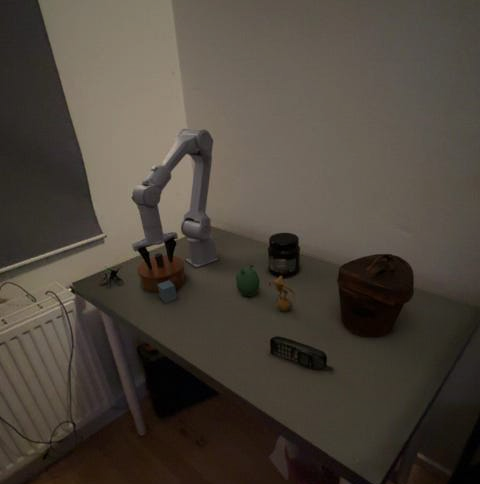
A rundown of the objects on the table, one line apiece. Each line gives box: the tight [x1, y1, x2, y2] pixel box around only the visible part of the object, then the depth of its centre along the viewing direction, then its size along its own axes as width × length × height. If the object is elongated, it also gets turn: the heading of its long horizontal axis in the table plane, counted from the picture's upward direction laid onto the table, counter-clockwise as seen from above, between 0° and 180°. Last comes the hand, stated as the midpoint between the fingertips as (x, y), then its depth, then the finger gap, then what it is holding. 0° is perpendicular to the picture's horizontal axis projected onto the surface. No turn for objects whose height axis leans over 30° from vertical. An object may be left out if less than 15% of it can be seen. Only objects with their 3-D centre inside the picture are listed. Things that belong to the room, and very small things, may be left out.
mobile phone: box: [269, 335, 334, 371], centre depth 80 cm, size 5×3×15 cm
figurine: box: [268, 276, 296, 312], centre depth 95 cm, size 8×6×12 cm
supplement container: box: [267, 232, 301, 278], centre depth 115 cm, size 10×10×12 cm
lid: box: [136, 252, 185, 279], centre depth 114 cm, size 15×15×5 cm
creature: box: [99, 266, 124, 287], centre depth 118 cm, size 8×5×8 cm
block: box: [157, 280, 178, 304], centre depth 107 cm, size 4×4×5 cm
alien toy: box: [235, 263, 261, 297], centre depth 105 cm, size 7×8×10 cm
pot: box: [138, 267, 186, 294], centre depth 116 cm, size 14×20×6 cm
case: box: [336, 253, 415, 338], centre depth 87 cm, size 18×20×18 cm
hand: (160, 264), depth 114 cm, fingers open, 7 cm apart
